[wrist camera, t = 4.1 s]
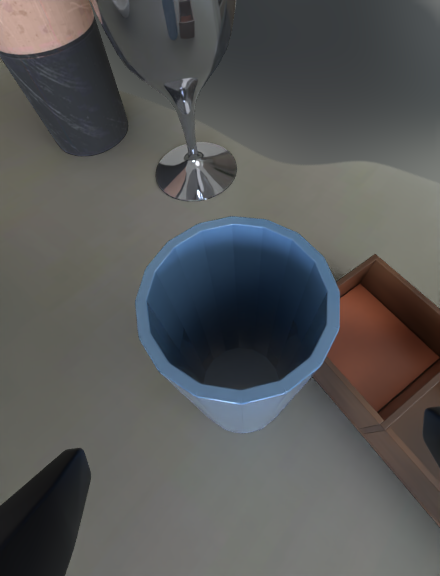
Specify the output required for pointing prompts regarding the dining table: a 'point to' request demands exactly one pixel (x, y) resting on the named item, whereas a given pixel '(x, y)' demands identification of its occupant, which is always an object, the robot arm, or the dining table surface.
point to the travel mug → (63, 72)
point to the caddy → (388, 372)
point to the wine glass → (177, 77)
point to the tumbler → (238, 317)
